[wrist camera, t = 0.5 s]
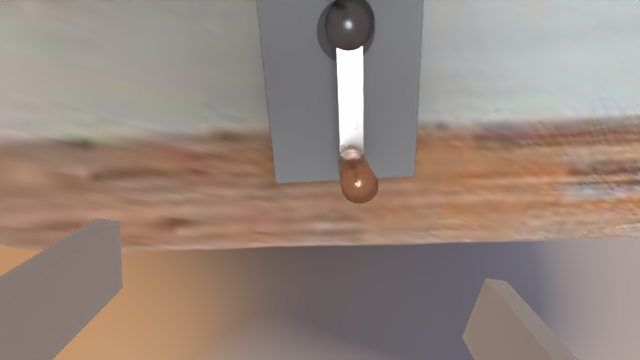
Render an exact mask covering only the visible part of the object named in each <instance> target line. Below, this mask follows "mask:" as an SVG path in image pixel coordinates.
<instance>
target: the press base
mask: <svg viewBox="0 0 640 360" xmlns="http://www.w3.org/2000/svg"><path fill="white" fill-rule="evenodd" d="M256 1H257V11H258V20H259V29H260V38H261V48H262V57H263V66H264V75H265V85H266V94H267V103H268V113H269V122H270V131H271V140H272V150H273V159H274V168H275V177H276V183H294V182H314V181H335V180H340V176H339V170H338V159H339V157H340V154H339V124H338V94H337V64H336V48H334V47H333V46H332V45H331V44H330V42H329V41H328V39H327V37H326V33H325V17H326V14H327V11H328V9H329V7H330V6H331V4H332V3H333V2H334V0H256ZM366 1H367V2H368V3H369V5H370V6H371V8H372V10H373V13H374V17H375V26H374V30H373V33H372V35H371V37H370V39H369V40H368V41H367V42H366V43H365V44H364V45H363V150H364V156H365V157H366V159H367V161H368V163H369V165H370V167H371V169H372V171H373V173H374V174H375V176H376V178H397V177H414V174H415V154H416V135H417V116H418V97H419V78H420V58H421V39H422V20H423V1H424V0H366Z"/></svg>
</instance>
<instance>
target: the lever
mask: <svg viewBox="0 0 640 360" xmlns="http://www.w3.org/2000/svg"><path fill="white" fill-rule="evenodd" d="M374 26H375V17H374V13H373V10H372V8H371V6H370V5H369V3H368V2H367V1H366V0H334V2H333V3H332V4H331V6H330V7H329V9H328V11H327V14H326V17H325V33H326V37H327V39H328V41H329V42H330V44H331V45H332V46H333V47H334V48H336V64H337V94H338V124H339V154H340V157H339V159H338V170H339V176H340V181H341V187H342V192H343V194H344V196H345V197H346V198H347V199H348V200H349V201H351V202H353V203H365V202H368V201H370V200H371V199H372V198H373V197H374V196H375V195H376V193H377V191H378V181H377V178H376V176H375V174H374V173H373V171H372V169H371V167H370V165H369V163H368V161H367V159H366V157H365V156H364V150H363V45H364V44H365V43H366V42H367V41H368V40H369V39H370V37H371V35H372V33H373V30H374Z"/></svg>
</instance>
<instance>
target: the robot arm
mask: <svg viewBox="0 0 640 360" xmlns="http://www.w3.org/2000/svg"><path fill="white" fill-rule="evenodd" d="M121 289H122V264H121V240H120V222H117V221H110V220H104V219H95V220H94V221H92V222H90V223H89V224H87V225H85V226H84V227H82V228H80V229H79V230H77V231H75V232H74V233H72V234H70V235H69V236H67V237H65V238H64V239H62V240H60V241H59V242H57V243H55V244H54V245H52V246H50V247H49V248H47V249H45V250H44V251H42V252H40V253H39V254H37V255H36V256H34V257H32V258H30V259H29V260H27V261H25V262H24V263H22V264H21V265H19V266H17V267H15V268H14V269H12V270H10V271H9V272H7V273H6V274H4V275H2V276H1V277H0V360H52V359H53V358H54V357H55V356H56V355H57V354H58V353H59V352H60V351H61V350H62V349H63V348H64V347H65V346H66V345H67V344H68V343H69V342H70V341H71V340H72V339H73V338H74V337H75V336H76V335H77V334H78V333H79V332H80V331H81V330H82V329H83V328H84V327H85V326H86V325H87V324H88V323H89V322H90V321H91V320H92V319H93V318H94V317H95V316H96V315H97V314H98V313H99V312H100V310H101V309H102V308H103V307H104V306H105V305H106V304H107V303H108V302H109V301H110V300H111V299H112V298H113V297H114V296H115V295H116V294H117V293H118V292H119V291H120V290H121ZM462 338H463V339H464V341H465V343H466V345H467V347H468V349H469V351H470V352H471V354H472V356H473V358H474V360H578V359H577V358H576V357H575V356H574V355H573V354H572V353H571V352H570V350H569V349H568V348H567V347H566V346H565V345H564V344H563V343H562V342H561V341H560V340H559V338H558V337H557V336H556V335H555V334H554V333H553V332H552V331H551V330H550V329H549V328H548V326H546V324H545V323H544V322H543V321H542V320H541V319H540V318H539V317H538V316H537V314H536V313H535V312H534V311H533V310H532V309H531V308H530V307H529V306H528V305H527V304H526V303H525V301H524V300H523V299H522V298H521V297H520V296H519V295H518V294H517V293H516V292H515V291H514V289H513V288H512V287H511V286H510V285H509V284H508V283H507V282H506V281H500V280H494V279H487V278H486V279H485V282H484V284H483V287H482V289H481V292H480V294H479V297H478V299H477V302H476V304H475V307H474V309H473V312H472V314H471V317H470V319H469V321H468V324H467V327H466V329H465V331H464V334H463V336H462Z"/></svg>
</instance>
